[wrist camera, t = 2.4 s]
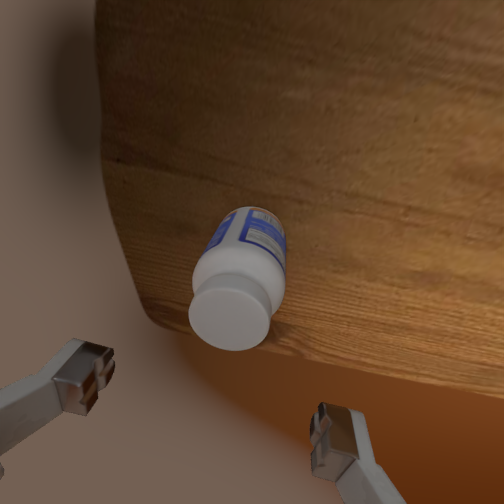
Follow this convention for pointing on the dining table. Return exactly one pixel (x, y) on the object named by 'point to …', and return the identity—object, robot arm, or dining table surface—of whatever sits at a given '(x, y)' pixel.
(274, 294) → the pill bottle
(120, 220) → the dining table surface
